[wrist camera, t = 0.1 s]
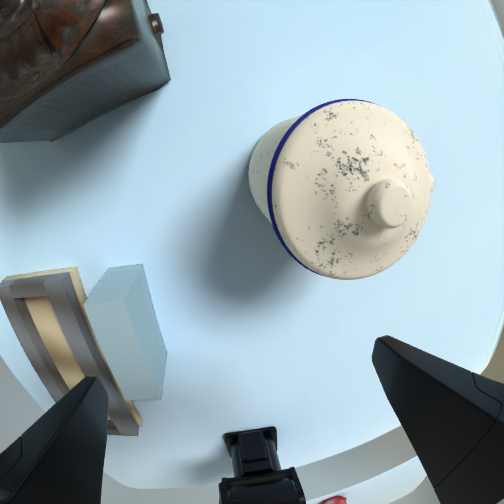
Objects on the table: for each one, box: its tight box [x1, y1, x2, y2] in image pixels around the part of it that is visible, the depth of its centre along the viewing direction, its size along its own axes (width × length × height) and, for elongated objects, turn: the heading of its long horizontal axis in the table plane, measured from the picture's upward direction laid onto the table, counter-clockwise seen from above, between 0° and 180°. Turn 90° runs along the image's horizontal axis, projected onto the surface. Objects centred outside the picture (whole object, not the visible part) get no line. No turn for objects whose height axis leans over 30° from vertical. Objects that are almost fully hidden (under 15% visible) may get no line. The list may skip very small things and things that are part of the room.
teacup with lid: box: [248, 99, 434, 280], centre depth 16 cm, size 12×9×12 cm
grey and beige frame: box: [0, 267, 142, 436], centre depth 22 cm, size 20×9×2 cm, turn 4°
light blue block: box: [83, 264, 167, 400], centre depth 20 cm, size 9×3×6 cm, turn 4°
